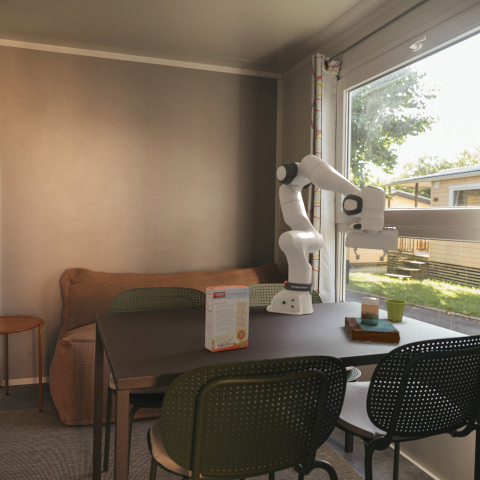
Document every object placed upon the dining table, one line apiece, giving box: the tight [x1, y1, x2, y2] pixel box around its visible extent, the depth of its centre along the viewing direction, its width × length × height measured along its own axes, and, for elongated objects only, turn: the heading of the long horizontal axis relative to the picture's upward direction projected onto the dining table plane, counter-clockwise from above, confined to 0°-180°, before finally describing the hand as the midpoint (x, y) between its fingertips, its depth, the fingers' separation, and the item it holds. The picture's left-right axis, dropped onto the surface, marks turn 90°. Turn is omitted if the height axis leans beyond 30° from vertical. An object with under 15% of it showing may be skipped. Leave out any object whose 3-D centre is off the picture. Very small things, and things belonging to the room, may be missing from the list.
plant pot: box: [384, 299, 407, 322], centre depth 206 cm, size 9×9×9 cm
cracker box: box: [204, 284, 251, 353], centre depth 152 cm, size 14×6×21 cm, turn 121°
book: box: [344, 316, 401, 345], centre depth 177 cm, size 23×18×5 cm
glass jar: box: [360, 296, 380, 325], centre depth 177 cm, size 7×7×10 cm
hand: (369, 260), depth 183 cm, fingers open, 8 cm apart
